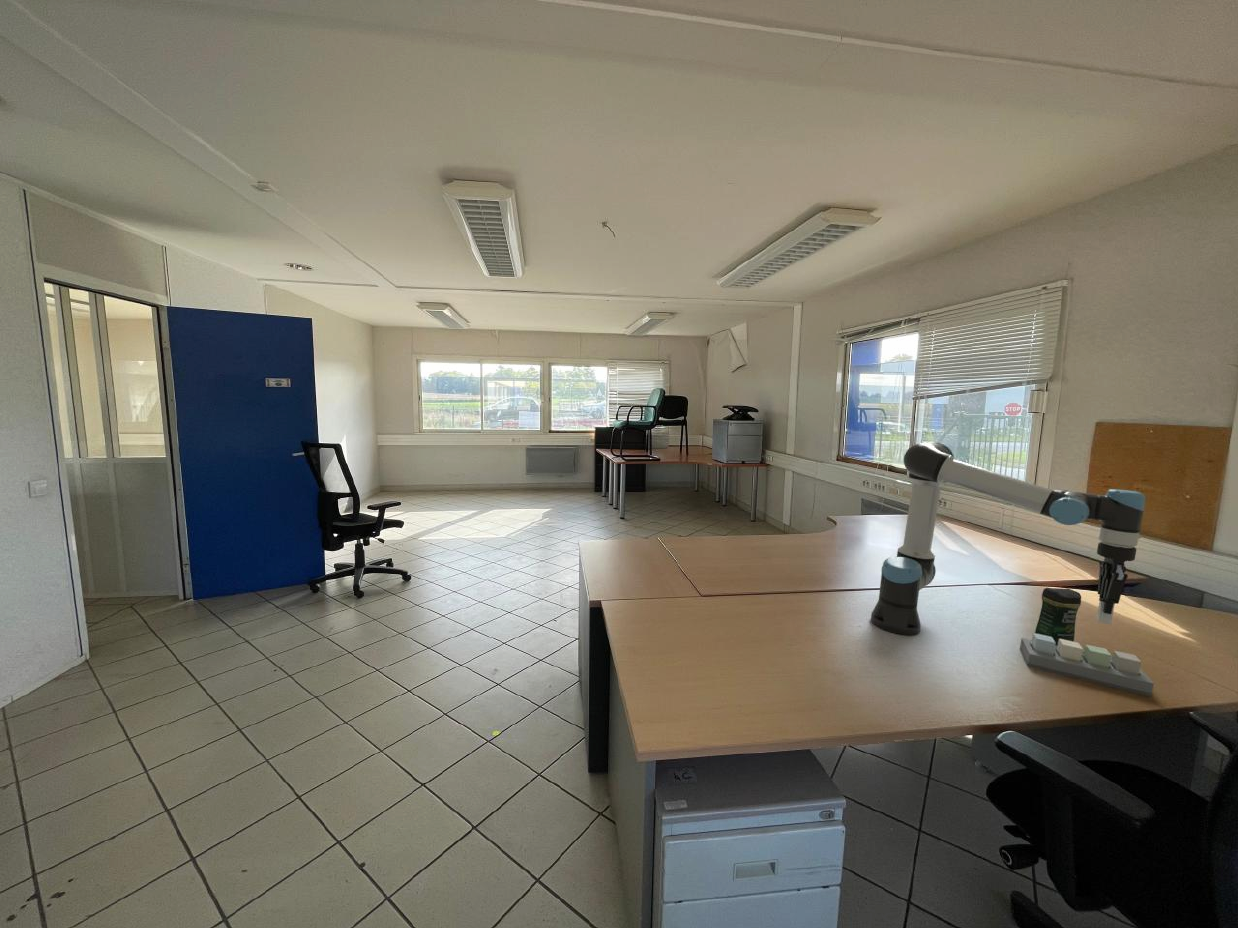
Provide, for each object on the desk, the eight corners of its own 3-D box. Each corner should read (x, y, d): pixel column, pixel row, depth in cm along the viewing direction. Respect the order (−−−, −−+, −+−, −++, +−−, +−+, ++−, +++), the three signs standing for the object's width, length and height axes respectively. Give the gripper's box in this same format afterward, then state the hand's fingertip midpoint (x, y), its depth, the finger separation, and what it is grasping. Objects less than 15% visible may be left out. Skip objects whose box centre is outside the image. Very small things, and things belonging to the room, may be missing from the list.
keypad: (1027, 666, 142) (1029, 653, 141) (1019, 649, 152) (1021, 637, 151) (1151, 696, 128) (1153, 683, 127) (1133, 675, 138) (1135, 663, 138)
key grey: (1116, 670, 134) (1119, 657, 133) (1111, 663, 138) (1113, 650, 137) (1138, 675, 132) (1141, 661, 131) (1132, 667, 135) (1134, 655, 135)
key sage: (1088, 663, 137) (1090, 650, 137) (1083, 656, 141) (1085, 644, 140) (1108, 668, 135) (1111, 655, 134) (1103, 661, 138) (1105, 648, 138)
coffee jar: (1051, 647, 154) (1060, 593, 151) (1029, 635, 161) (1037, 584, 159) (1079, 647, 154) (1088, 594, 152) (1055, 635, 162) (1064, 584, 159)
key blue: (1034, 650, 143) (1036, 638, 143) (1031, 644, 147) (1033, 632, 146) (1053, 655, 141) (1055, 642, 140) (1049, 648, 145) (1051, 636, 144)
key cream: (1060, 656, 140) (1062, 644, 140) (1056, 650, 144) (1058, 638, 143) (1080, 661, 138) (1082, 648, 137) (1076, 655, 142) (1078, 642, 141)
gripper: (1146, 552, 126) (1130, 635, 129) (1127, 541, 137) (1113, 617, 140) (1107, 547, 129) (1093, 627, 133) (1091, 536, 140) (1079, 611, 144)
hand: (1103, 622), depth 136 cm, fingers closed
